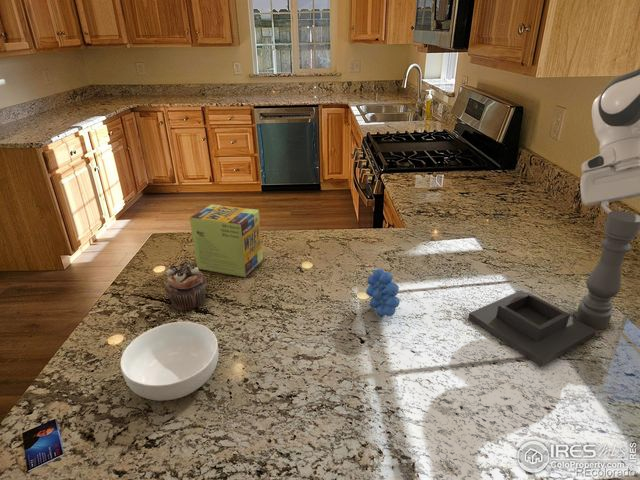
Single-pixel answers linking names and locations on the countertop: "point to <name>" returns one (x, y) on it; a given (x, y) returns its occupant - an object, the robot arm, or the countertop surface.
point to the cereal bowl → (170, 360)
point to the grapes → (383, 293)
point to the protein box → (227, 239)
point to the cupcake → (185, 287)
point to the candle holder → (608, 269)
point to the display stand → (532, 326)
